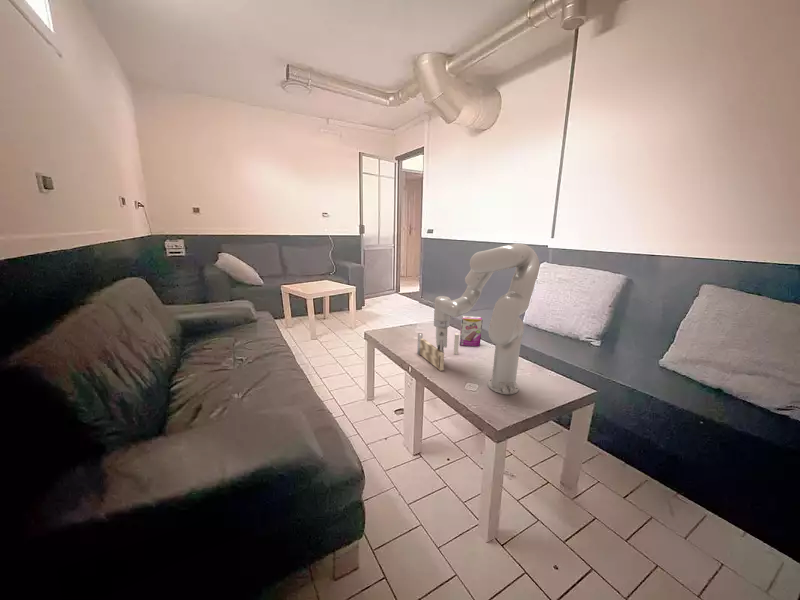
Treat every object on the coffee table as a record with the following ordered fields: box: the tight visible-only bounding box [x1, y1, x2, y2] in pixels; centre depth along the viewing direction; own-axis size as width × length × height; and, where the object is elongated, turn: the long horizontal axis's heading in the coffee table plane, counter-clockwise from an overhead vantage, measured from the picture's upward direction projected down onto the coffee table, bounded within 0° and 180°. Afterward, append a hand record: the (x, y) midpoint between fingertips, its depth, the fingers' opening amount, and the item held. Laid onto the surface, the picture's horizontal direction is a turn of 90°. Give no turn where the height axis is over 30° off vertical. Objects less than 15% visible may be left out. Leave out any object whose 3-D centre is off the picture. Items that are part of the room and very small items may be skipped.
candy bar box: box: [459, 315, 483, 347], centre depth 176 cm, size 11×5×16 cm, turn 84°
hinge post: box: [416, 332, 424, 356], centre depth 164 cm, size 2×2×11 cm
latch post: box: [453, 332, 460, 355], centre depth 165 cm, size 2×2×11 cm
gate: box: [419, 338, 445, 372], centre depth 154 cm, size 20×2×8 cm, turn 25°
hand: (439, 358), depth 153 cm, fingers closed
